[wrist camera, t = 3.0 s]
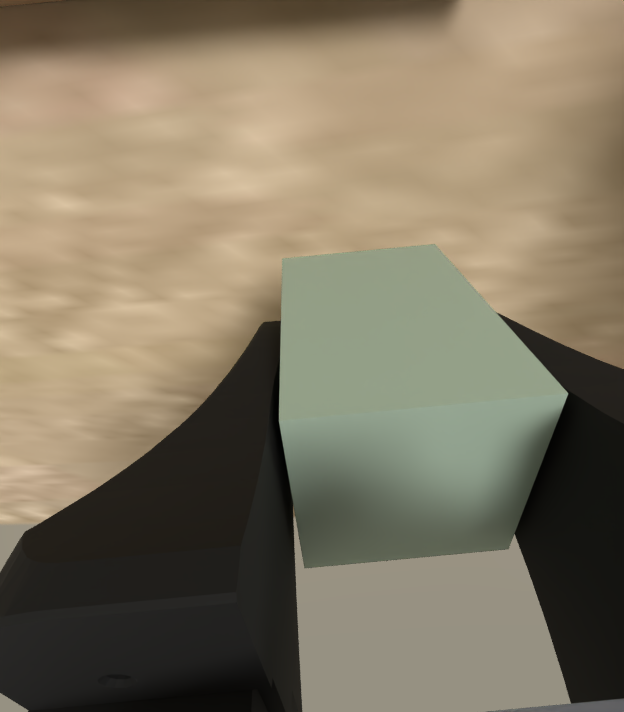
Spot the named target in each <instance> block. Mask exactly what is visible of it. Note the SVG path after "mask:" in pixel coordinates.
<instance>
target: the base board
mask: <svg viewBox="0 0 624 712" xmlns="http://www.w3.org/2000/svg"><path fill="white" fill-rule="evenodd" d="M53 1H64V0H0V6H10V5H21V4H32V3H42V2H53Z"/></svg>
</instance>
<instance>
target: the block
mask: <svg viewBox="0 0 624 712" xmlns="http://www.w3.org/2000/svg"><path fill="white" fill-rule="evenodd" d="M567 396H568V393H567V391H566V390H565V389H564V388H563V387H562V386H561V385H560V384H559V382H558V381H557V380H556V379H555V378H554V377H553V376H552V375H551V374H550V372H549V371H548V370H547V369H546V368H545V367H544V366H543V365H542V363H541V362H540V361H539V360H538V359H537V358H536V357H535V356H534V354H533V353H532V352H531V351H530V350H529V349H528V348H527V347H526V346H525V344H524V343H523V342H522V341H521V340H520V339H519V338H518V337H517V335H516V334H515V333H514V332H513V331H512V330H511V329H510V328H509V326H508V325H507V324H506V323H505V322H504V321H503V320H502V319H501V318H500V316H499V315H498V314H497V313H496V312H495V311H494V310H493V309H492V307H491V306H490V305H489V304H488V303H487V302H486V301H485V300H484V298H483V297H482V296H481V295H480V294H479V293H478V292H477V291H476V290H475V288H474V287H473V286H472V285H471V284H470V283H469V282H468V281H467V279H466V278H465V277H464V276H463V275H462V274H461V273H460V272H459V270H458V269H457V268H456V267H455V266H454V265H453V264H452V263H451V262H450V260H449V259H448V258H447V257H446V256H445V255H444V254H443V253H442V251H441V250H440V249H439V248H438V247H437V246H436V245H435V244H431V245H420V246H410V247H399V248H389V249H378V250H367V251H357V252H346V253H336V254H325V255H315V256H304V257H294V258H283V259H282V297H281V344H280V391H279V424H280V430H281V436H282V442H283V447H284V453H285V459H286V465H287V470H288V476H289V482H290V488H291V493H292V499H293V505H294V511H295V516H296V522H297V528H298V533H299V539H300V545H301V551H302V557H303V562H304V568H312V567H323V566H333V565H345V564H356V563H365V562H377V561H388V560H397V559H408V558H419V557H430V556H440V555H451V554H462V553H472V552H483V551H494V550H505V549H509V546H510V543H511V541H512V538H513V536H514V533H515V531H516V528H517V526H518V523H519V520H520V518H521V515H522V513H523V510H524V507H525V505H526V502H527V500H528V497H529V494H530V492H531V489H532V487H533V484H534V481H535V479H536V476H537V474H538V471H539V468H540V466H541V463H542V461H543V458H544V455H545V453H546V450H547V448H548V445H549V443H550V440H551V437H552V435H553V432H554V430H555V427H556V424H557V422H558V419H559V417H560V414H561V411H562V409H563V406H564V404H565V401H566V398H567Z"/></svg>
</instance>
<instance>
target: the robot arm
mask: <svg viewBox="0 0 624 712" xmlns="http://www.w3.org/2000/svg"><path fill="white" fill-rule="evenodd" d="M496 313H497V312H496ZM497 314H498V315H499V316H500V318H501V319H502V320H503V321H504V322H505V323H506V324H507V325H508V326H509V328H510V329H511V330H512V331H513V332H514V333H515V334H516V335H517V337H518V338H519V339H520V340H521V341H522V342H523V343H524V344H525V346H526V347H527V348H528V349H529V350H530V351H531V352H532V353H533V354H534V356H535V357H536V358H537V359H538V360H539V361H540V362H541V363H542V365H543V366H544V367H545V368H546V369H547V370H548V371H549V372H550V374H551V375H552V376H553V377H554V378H555V379H556V380H557V381H558V382H559V384H560V385H561V386H562V387H563V388H564V389H565V390H566V391H567V393H568V396H567V398H566V401H565V404H564V406H563V409H562V411H561V414H560V417H559V419H558V422H557V424H556V427H555V430H554V432H553V435H552V437H551V440H550V443H549V445H548V448H547V450H546V453H545V455H544V458H543V461H542V463H541V466H540V468H539V471H538V474H537V476H536V479H535V481H534V484H533V487H532V489H531V492H530V494H529V497H528V500H527V502H526V505H525V507H524V510H523V513H522V515H521V518H520V520H519V523H518V526H517V528H516V531H515V536H516V539H517V541H518V544H519V547H520V549H521V552H522V555H523V557H524V560H525V563H526V565H527V568H528V570H529V574H530V577H531V579H532V582H533V585H534V588H535V591H536V594H537V597H538V600H539V602H540V606H541V608H542V611H543V614H544V617H545V620H546V623H547V626H548V630H549V633H550V636H551V639H552V642H553V645H554V649H555V652H556V655H557V658H558V661H559V665H560V668H561V671H562V674H563V677H564V680H565V684H566V688H567V691H568V694H569V698H570V701H571V704H562V705H552V706H541V707H530V708H520V709H509V710H498V711H488V712H624V369H621V368H618V367H616V366H613V365H610V364H608V363H605V362H602V361H600V360H597V359H595V358H592V357H590V356H588V355H585V354H583V353H581V352H578V351H576V350H574V349H571V348H569V347H567V346H565V345H562V344H560V343H558V342H556V341H554V340H552V339H549V338H547V337H545V336H543V335H541V334H539V333H537V332H535V331H533V330H531V329H529V328H527V327H525V326H523V325H521V324H519V323H517V322H515V321H513V320H511V319H509V318H507V317H505V316H503V315H501V314H499V313H497ZM280 344H281V321H272V322H263V324H262V325H261V326H260V327H259V329H258V331H257V332H256V334H255V336H254V337H253V339H252V340H251V342H250V343H249V345H248V347H247V348H246V350H245V351H244V353H243V354H242V355H241V357H240V358H239V360H238V361H237V362H236V364H235V365H234V367H233V368H232V369H231V371H230V372H229V373H228V374H227V376H226V377H225V378H224V379H223V381H222V382H221V383H220V384H219V385H218V387H217V388H216V389H215V390H214V392H213V393H212V394H211V395H210V396H209V397H208V398H207V399H206V400H205V402H204V403H203V404H202V405H201V406H200V407H199V408H198V409H197V410H196V411H195V412H194V413H193V414H192V415H191V416H190V417H189V418H188V419H187V420H186V421H184V422H183V423H182V424H181V425H180V426H179V427H178V428H176V429H175V430H174V431H173V432H172V433H170V434H169V435H168V436H167V437H166V438H164V439H163V440H162V441H161V442H160V443H158V444H157V445H156V446H155V447H154V448H153V449H151V450H150V451H149V452H147V453H146V454H145V455H144V456H142V457H141V458H140V459H138V460H137V461H135V462H134V463H133V464H131V465H130V466H129V467H127V468H126V469H125V470H123V471H122V472H120V473H119V474H117V475H116V476H114V477H113V478H112V479H110V480H109V481H107V482H106V483H104V484H103V485H101V486H100V487H98V488H97V489H95V490H94V491H92V492H91V493H89V494H87V495H86V496H84V497H82V498H81V499H79V500H78V501H76V502H74V503H73V504H71V505H69V506H68V507H66V508H64V509H63V510H61V511H59V512H58V513H56V514H55V515H53V516H51V517H50V518H48V519H46V520H45V521H43V522H41V523H40V524H38V525H36V526H34V527H33V528H31V529H29V530H28V531H26V532H25V533H24V534H23V536H22V537H21V539H20V540H19V542H18V543H17V545H16V547H15V549H14V550H13V552H12V553H11V555H10V557H9V558H8V560H7V562H6V564H5V565H4V567H3V569H2V571H1V572H0V693H2V694H3V695H5V696H7V697H8V698H10V699H11V700H13V701H15V702H16V703H18V704H19V705H21V706H23V707H24V708H26V709H27V710H29V711H28V712H302V699H301V680H300V661H299V642H298V623H297V622H298V621H297V602H296V601H297V600H296V576H295V556H294V555H295V553H294V526H293V499H292V493H291V488H290V482H289V476H288V470H287V465H286V459H285V453H284V447H283V442H282V436H281V430H280V424H279V391H280Z"/></svg>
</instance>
